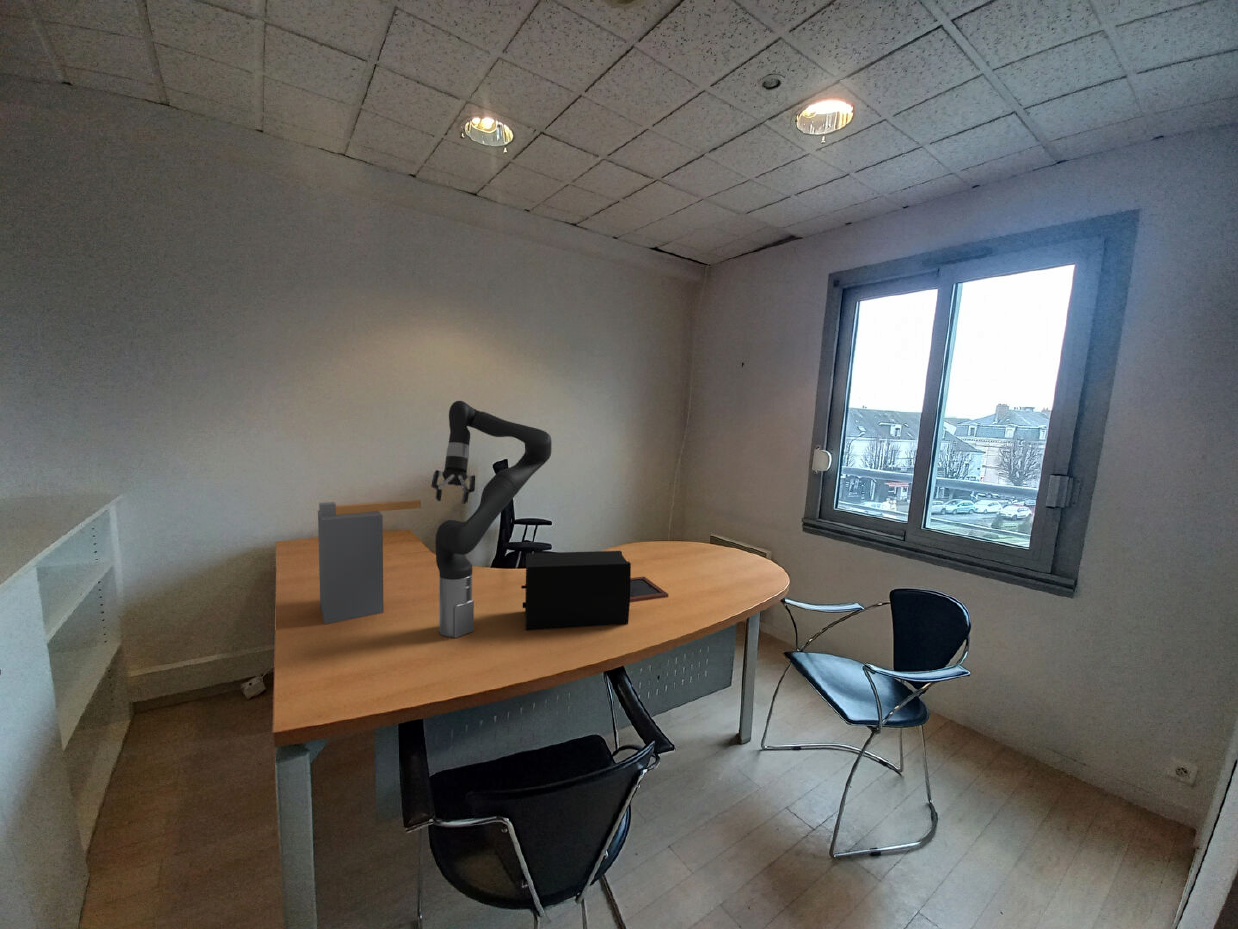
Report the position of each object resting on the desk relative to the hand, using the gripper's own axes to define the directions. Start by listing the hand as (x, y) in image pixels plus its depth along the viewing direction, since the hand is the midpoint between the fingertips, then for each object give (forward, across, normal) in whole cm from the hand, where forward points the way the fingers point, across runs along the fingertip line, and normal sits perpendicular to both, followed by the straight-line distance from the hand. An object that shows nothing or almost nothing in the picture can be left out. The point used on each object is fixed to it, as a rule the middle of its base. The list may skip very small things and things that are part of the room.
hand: (451, 502), depth 156 cm
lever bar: (+5, +23, -6) cm, 24 cm away
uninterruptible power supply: (+36, -36, +28) cm, 58 cm away
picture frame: (+29, -64, +18) cm, 73 cm away
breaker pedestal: (+37, +24, -13) cm, 46 cm away
